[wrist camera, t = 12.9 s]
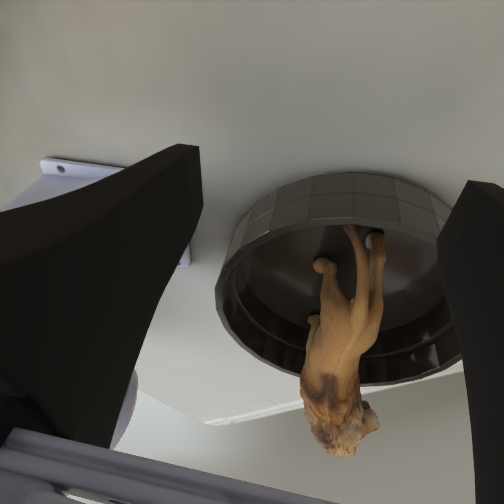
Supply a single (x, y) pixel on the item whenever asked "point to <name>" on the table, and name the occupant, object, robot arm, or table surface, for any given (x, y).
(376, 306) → the lion figurine
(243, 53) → the table surface
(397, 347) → the dark grey round bowl
